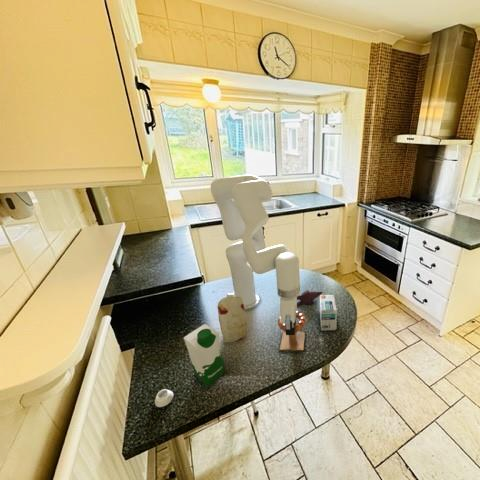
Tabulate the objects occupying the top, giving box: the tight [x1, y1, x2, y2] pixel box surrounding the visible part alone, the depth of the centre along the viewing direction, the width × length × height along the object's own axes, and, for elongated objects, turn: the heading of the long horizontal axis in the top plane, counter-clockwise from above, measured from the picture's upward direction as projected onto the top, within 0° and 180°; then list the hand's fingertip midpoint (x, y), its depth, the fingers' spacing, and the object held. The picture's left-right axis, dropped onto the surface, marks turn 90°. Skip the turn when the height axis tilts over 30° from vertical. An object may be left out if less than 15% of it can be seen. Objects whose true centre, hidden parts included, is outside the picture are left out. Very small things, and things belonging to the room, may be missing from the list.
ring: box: [277, 310, 307, 332], centre depth 96 cm, size 10×10×2 cm
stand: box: [279, 331, 306, 351], centre depth 99 cm, size 9×9×11 cm
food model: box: [216, 296, 248, 343], centre depth 99 cm, size 10×7×20 cm
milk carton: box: [183, 323, 226, 388], centre depth 84 cm, size 9×9×20 cm
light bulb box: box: [319, 294, 338, 332], centre depth 110 cm, size 11×7×11 cm, turn 4°
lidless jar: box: [154, 388, 174, 408], centre depth 79 cm, size 5×3×5 cm
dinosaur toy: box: [297, 289, 324, 307], centre depth 122 cm, size 7×7×15 cm
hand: (290, 330), depth 93 cm, fingers closed on ring, 2 cm apart
